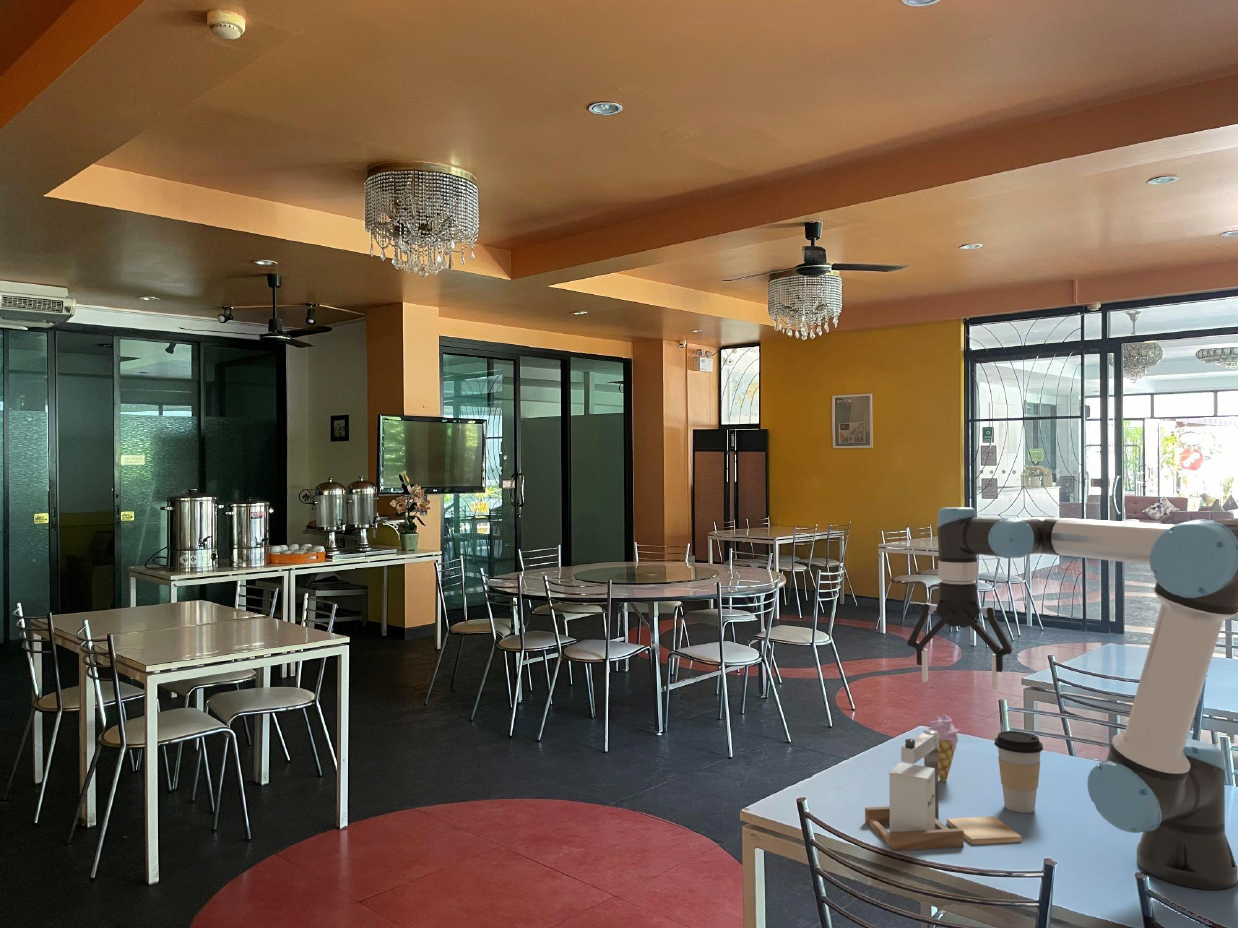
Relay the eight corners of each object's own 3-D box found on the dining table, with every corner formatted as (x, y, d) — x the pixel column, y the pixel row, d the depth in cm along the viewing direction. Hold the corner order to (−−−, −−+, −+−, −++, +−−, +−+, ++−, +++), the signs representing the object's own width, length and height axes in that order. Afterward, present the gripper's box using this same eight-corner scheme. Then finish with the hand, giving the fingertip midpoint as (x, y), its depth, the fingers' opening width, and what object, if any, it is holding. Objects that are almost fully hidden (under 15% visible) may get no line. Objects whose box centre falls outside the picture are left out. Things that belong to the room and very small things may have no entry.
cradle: (971, 846, 168) (970, 770, 168) (892, 850, 166) (892, 774, 166) (934, 814, 183) (933, 745, 183) (861, 818, 181) (861, 748, 181)
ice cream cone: (962, 779, 203) (962, 714, 203) (956, 787, 198) (956, 720, 198) (932, 774, 207) (932, 710, 207) (926, 782, 202) (925, 716, 202)
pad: (1021, 841, 170) (1021, 836, 170) (971, 844, 169) (971, 839, 169) (993, 820, 180) (993, 815, 180) (946, 823, 178) (946, 818, 178)
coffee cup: (1049, 817, 181) (1048, 744, 181) (1000, 814, 183) (999, 741, 183) (1037, 800, 190) (1036, 730, 190) (990, 797, 192) (989, 728, 192)
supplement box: (927, 845, 168) (927, 778, 168) (888, 836, 172) (887, 771, 172) (936, 831, 175) (936, 767, 175) (898, 823, 179) (897, 761, 179)
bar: (926, 743, 184) (926, 723, 184) (940, 745, 182) (940, 726, 182) (899, 761, 173) (899, 740, 173) (915, 764, 171) (915, 743, 171)
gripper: (1024, 582, 181) (1026, 686, 181) (899, 576, 193) (900, 674, 193) (1022, 586, 175) (1024, 694, 174) (892, 580, 186) (894, 681, 186)
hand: (959, 684), depth 184 cm, fingers open, 13 cm apart
